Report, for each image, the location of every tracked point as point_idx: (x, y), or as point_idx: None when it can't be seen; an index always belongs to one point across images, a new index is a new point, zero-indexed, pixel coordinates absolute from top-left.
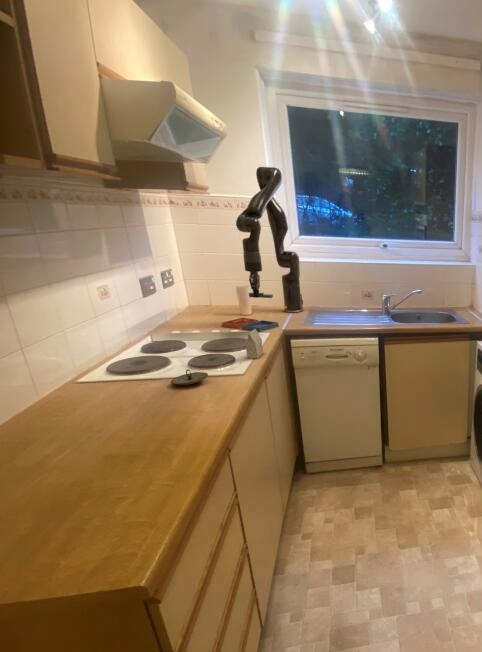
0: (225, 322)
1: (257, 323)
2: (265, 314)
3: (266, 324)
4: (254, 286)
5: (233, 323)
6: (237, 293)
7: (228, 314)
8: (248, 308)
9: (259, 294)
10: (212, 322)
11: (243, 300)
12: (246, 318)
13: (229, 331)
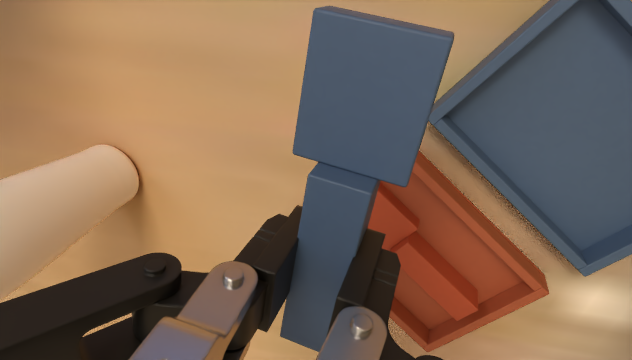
0: (416, 331)
1: (481, 153)
2: (107, 57)
3: (496, 80)
4: (227, 352)
5: (476, 306)
6: (13, 291)
7: (126, 252)
8: (102, 177)
9: (363, 235)
10: None
11: (66, 232)
12: None
13: (605, 332)
